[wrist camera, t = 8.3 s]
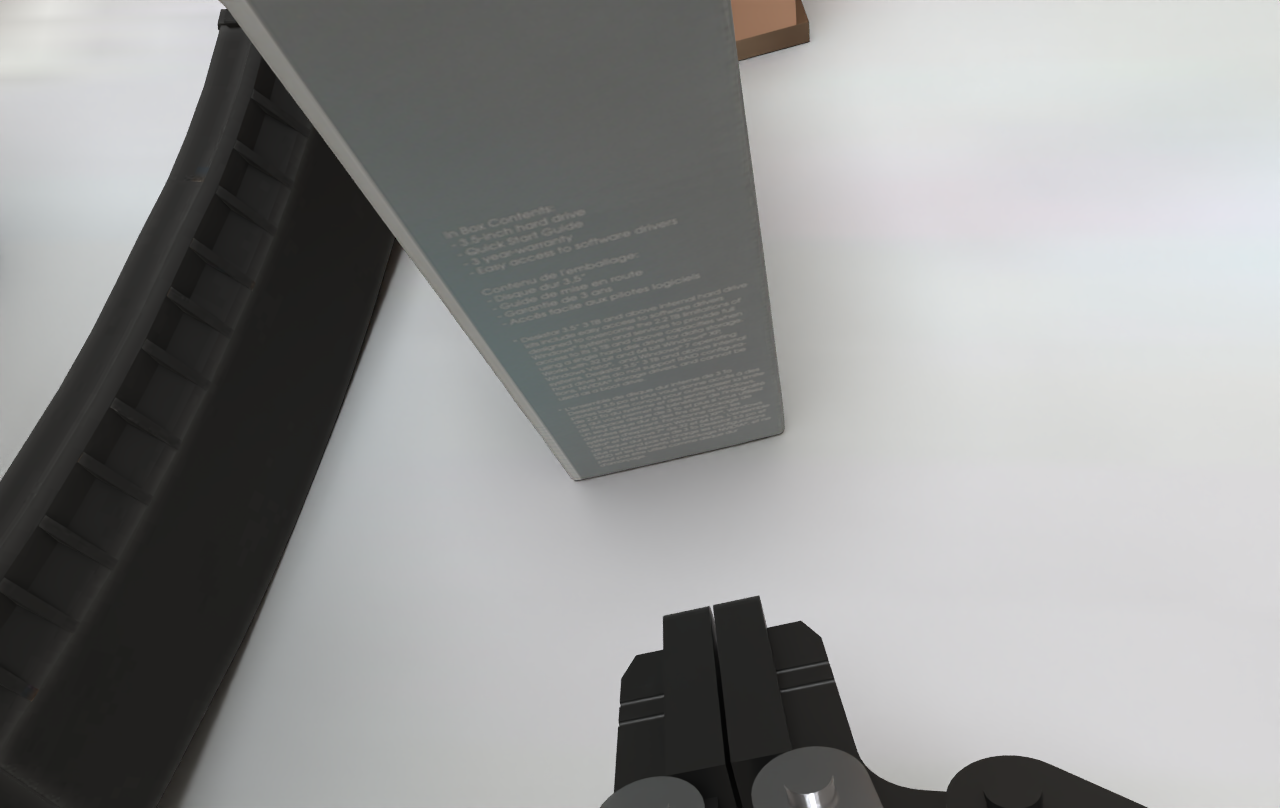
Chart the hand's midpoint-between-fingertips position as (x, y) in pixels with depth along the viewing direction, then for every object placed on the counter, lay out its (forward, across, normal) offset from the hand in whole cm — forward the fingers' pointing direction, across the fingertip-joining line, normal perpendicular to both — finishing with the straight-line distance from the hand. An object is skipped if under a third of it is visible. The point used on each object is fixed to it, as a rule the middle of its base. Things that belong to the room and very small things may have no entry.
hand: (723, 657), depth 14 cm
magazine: (+18, +16, +2) cm, 24 cm away
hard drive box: (+21, +1, -2) cm, 21 cm away
